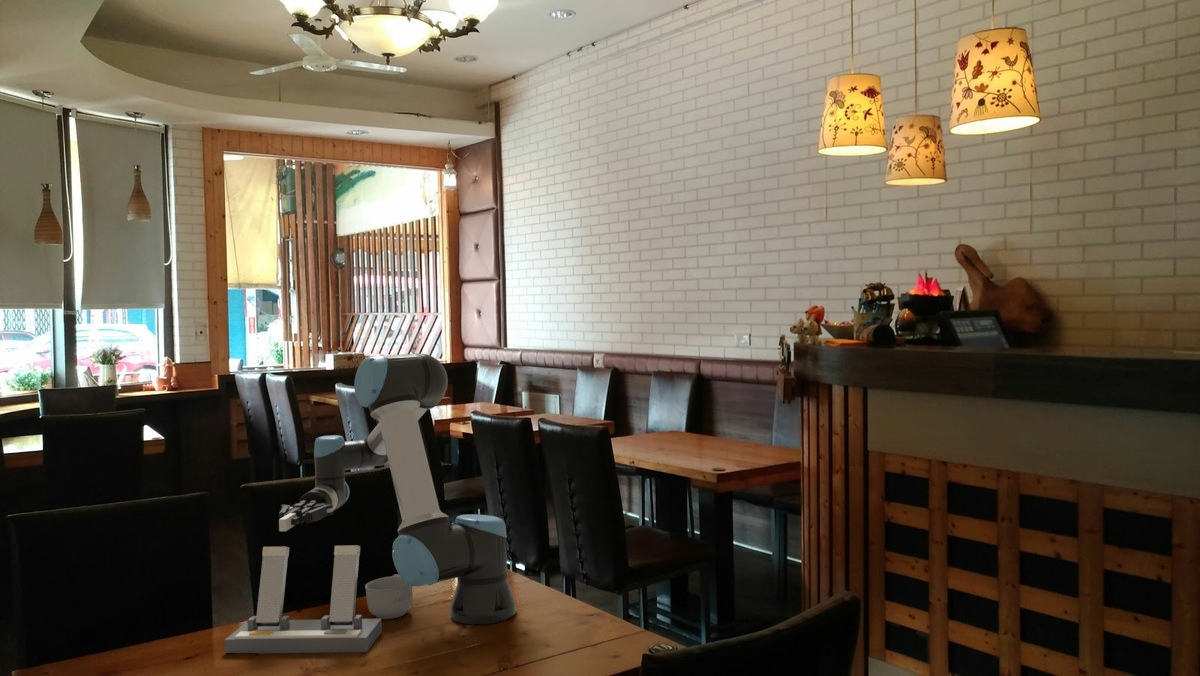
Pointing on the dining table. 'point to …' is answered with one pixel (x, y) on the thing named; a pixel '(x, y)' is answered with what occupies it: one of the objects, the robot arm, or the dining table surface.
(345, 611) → the lever inner
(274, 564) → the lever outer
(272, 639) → the grey stand base
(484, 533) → the robot arm
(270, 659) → the dining table surface
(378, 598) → the teacup
